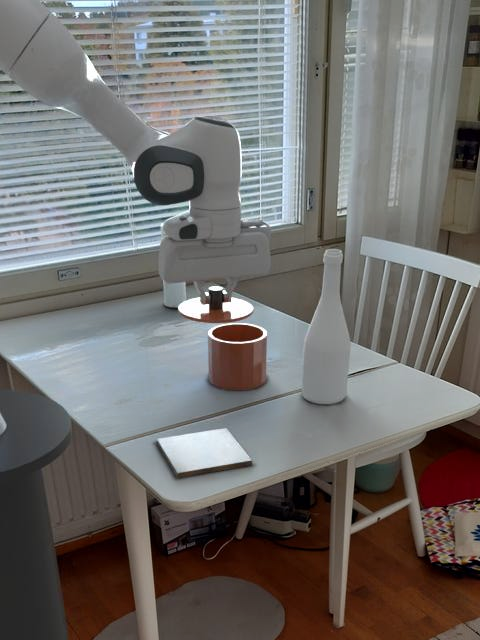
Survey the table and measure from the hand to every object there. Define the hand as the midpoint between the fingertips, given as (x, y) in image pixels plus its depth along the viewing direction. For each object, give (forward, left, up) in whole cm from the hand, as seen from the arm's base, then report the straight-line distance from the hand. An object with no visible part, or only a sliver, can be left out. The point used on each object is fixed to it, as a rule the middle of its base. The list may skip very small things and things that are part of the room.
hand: (215, 302), depth 142 cm
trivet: (-7, -12, -24) cm, 28 cm away
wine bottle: (+25, +4, -24) cm, 35 cm away
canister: (+11, +19, -24) cm, 32 cm away
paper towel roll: (+13, +74, -24) cm, 79 cm away
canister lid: (0, 0, -2) cm, 2 cm away
